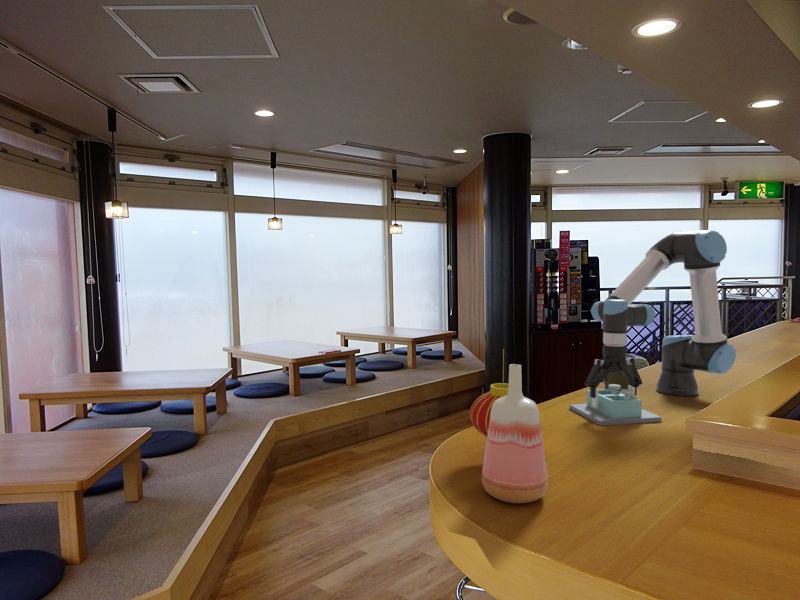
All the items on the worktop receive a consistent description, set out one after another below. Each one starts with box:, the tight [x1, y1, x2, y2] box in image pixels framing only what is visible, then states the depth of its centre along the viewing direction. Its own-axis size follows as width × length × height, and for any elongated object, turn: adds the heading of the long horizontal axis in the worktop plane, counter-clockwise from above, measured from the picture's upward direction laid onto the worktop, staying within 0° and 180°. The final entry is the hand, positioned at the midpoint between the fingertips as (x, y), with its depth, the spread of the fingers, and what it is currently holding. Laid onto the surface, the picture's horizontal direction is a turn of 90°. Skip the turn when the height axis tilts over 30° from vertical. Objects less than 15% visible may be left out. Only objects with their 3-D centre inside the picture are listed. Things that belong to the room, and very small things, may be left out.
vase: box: [481, 363, 549, 504], centre depth 117 cm, size 14×14×30 cm
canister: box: [602, 349, 636, 391], centre depth 198 cm, size 11×10×20 cm
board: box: [569, 384, 662, 426], centre depth 180 cm, size 22×20×9 cm
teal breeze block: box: [586, 388, 643, 418], centre depth 180 cm, size 10×16×6 cm, turn 10°
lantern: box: [469, 348, 509, 438], centre depth 138 cm, size 17×17×30 cm
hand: (613, 406), depth 180 cm, fingers open, 13 cm apart
